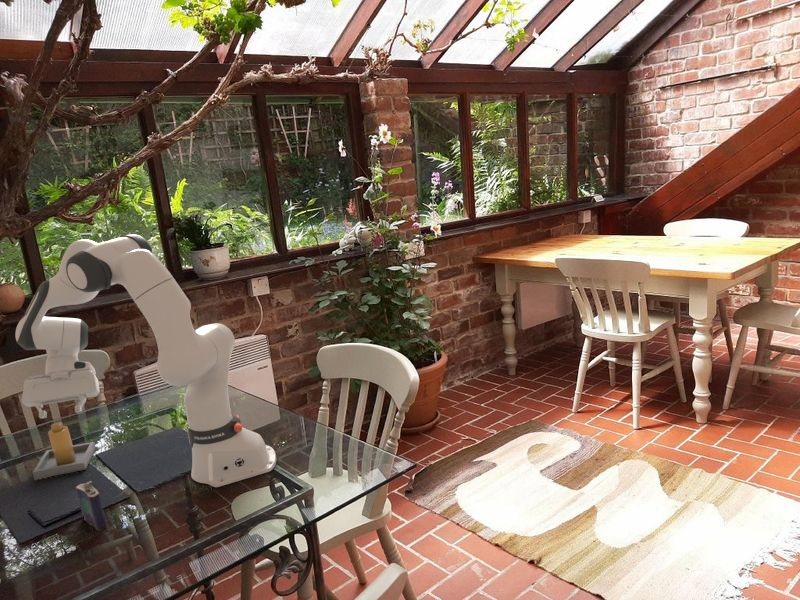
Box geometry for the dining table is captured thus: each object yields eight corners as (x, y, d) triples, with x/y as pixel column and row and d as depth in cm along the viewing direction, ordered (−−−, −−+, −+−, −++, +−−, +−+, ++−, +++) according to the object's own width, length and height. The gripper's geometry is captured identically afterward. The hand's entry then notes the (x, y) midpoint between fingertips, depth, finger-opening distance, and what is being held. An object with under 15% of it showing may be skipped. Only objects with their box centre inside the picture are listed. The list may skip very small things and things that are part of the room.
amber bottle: (77, 455, 176) (68, 418, 173) (74, 463, 172) (64, 426, 168) (59, 459, 175) (48, 422, 172) (54, 467, 171) (44, 430, 167)
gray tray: (95, 449, 181) (94, 441, 181) (85, 470, 169) (83, 462, 168) (48, 457, 178) (46, 450, 178) (34, 480, 166) (32, 472, 165)
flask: (81, 519, 146) (72, 479, 143) (93, 513, 148) (84, 474, 145) (99, 532, 140) (89, 491, 138) (111, 525, 142) (102, 485, 140)
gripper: (19, 373, 177) (16, 417, 170) (95, 361, 182) (94, 404, 175) (28, 381, 182) (25, 425, 176) (101, 370, 187) (101, 412, 180)
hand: (60, 414), depth 175 cm, fingers open, 8 cm apart
